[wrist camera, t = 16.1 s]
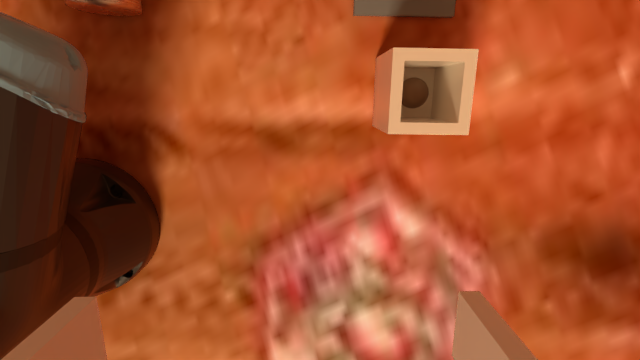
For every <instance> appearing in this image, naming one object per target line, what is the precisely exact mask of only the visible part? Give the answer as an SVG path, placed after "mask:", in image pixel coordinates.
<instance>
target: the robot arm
mask: <svg viewBox="0 0 640 360" xmlns="http://www.w3.org/2000/svg"><path fill="white" fill-rule="evenodd" d="M87 78H88V69H87V64H86V62H85V60H84V58H83V56H82V55H81V53H80V52H79V51H78V50H77V49H76V48H75V47H74V46H73V45H72V44H70V43H69V42H67V41H65V40H64V39H62V38H60V37H58V36H55V35H53V34H51V33H49V32H47V31H44V30H42V29H40V28H37V27H35V26H33V25H30V24H28V23H26V22H23V21H21V20H19V19H16V18H14V17H12V16H9V15H7V14H4V13H2V12H0V360H107V355H106V350H105V344H104V338H103V333H102V327H101V321H100V316H99V310H98V304H97V299H96V297H95V296H97V295H100V294H102V293H105V292H107V291H110V290H113V289H115V288H118V287H120V286H122V285H123V284H125V283H127V282H128V281H130V280H131V279H132V278H134V277H135V276H136V275H137V274H138V273H139V272H140V271H141V270H142V269H143V268H144V267H145V266H146V265H147V264H148V262H149V261H150V260H151V258H152V256H153V255H154V253H155V251H156V248H157V245H158V240H159V220H158V215H157V212H156V209H155V206H154V204H153V202H152V200H151V198H150V197H149V195H148V194H147V192H146V191H145V190H144V188H143V187H142V186H141V185H140V184H139V183H138V182H137V181H136V180H135V179H134V178H133V177H132V176H130V175H129V174H128V173H126V172H125V171H123V170H121V169H119V168H118V167H116V166H113V165H111V164H109V163H106V162H102V161H98V160H93V159H76V155H77V150H78V145H79V139H80V134H81V129H82V124H83V123H85V122H86V114H85V112H84V108H85V98H86V87H87ZM452 356H453V358H454V360H538V359H537V358H536V357H535V356H534V355H533V354H532V352H531V351H530V350H529V349H528V348H527V346H526V345H525V344H524V343H523V342H522V341H521V339H520V338H519V337H518V336H517V335H516V334H515V332H514V331H513V330H512V329H511V328H510V327H509V325H508V324H507V323H506V322H505V321H504V320H503V318H502V317H501V316H500V315H499V314H498V313H497V311H496V310H495V309H494V308H493V307H492V306H491V304H490V303H489V302H488V301H487V300H486V298H485V297H484V296H483V295H482V294H481V293H480V291H460V292H459V293H458V302H457V312H456V321H455V330H454V340H453V349H452Z"/></svg>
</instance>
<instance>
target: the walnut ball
mask: <svg viewBox="0 0 640 360" xmlns="http://www.w3.org/2000/svg"><path fill="white" fill-rule="evenodd" d="M428 95H429V89H428V86H427V84H426V83H425V82H424V81H423V80H422V79H420V78H415V77H413V78H409V79H406V80H405V81H403V91H402V105H403V106H405V107H407V108H418V107H420V106H421V105H423V104H424V103H425V102H426V100H427V98H428Z"/></svg>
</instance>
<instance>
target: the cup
mask: <svg viewBox="0 0 640 360" xmlns="http://www.w3.org/2000/svg"><path fill="white" fill-rule="evenodd" d="M478 51H479V49H449V48H397V47H393V48H392V49H390V50H388V51H387V52H385V53H383V54H382V55H380V56H378V57H377V58H376V67H375V87H374V106H373V126H374V127H375V128H377V129H379V130H381V131H383V132H385V133H387V134H428V135H469V127H470V118H471V110H472V102H473V93H474V85H475V76H476V68H477V59H478ZM413 77H415V78H420V79H422V80H423V81H424V82H425V83H426V84H427V86H428V89H429V95H428V98H427V100H426V102H425V103H424V104H423V105H421V106H420V107H418V108H407V107H405V106H403V105H402V91H403V81H405V80H406V79H409V78H413Z"/></svg>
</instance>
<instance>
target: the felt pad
mask: <svg viewBox="0 0 640 360" xmlns="http://www.w3.org/2000/svg"><path fill="white" fill-rule="evenodd" d="M455 3H456V0H354V14H353V16H397V17H445V18H452V17H454V13H455Z"/></svg>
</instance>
